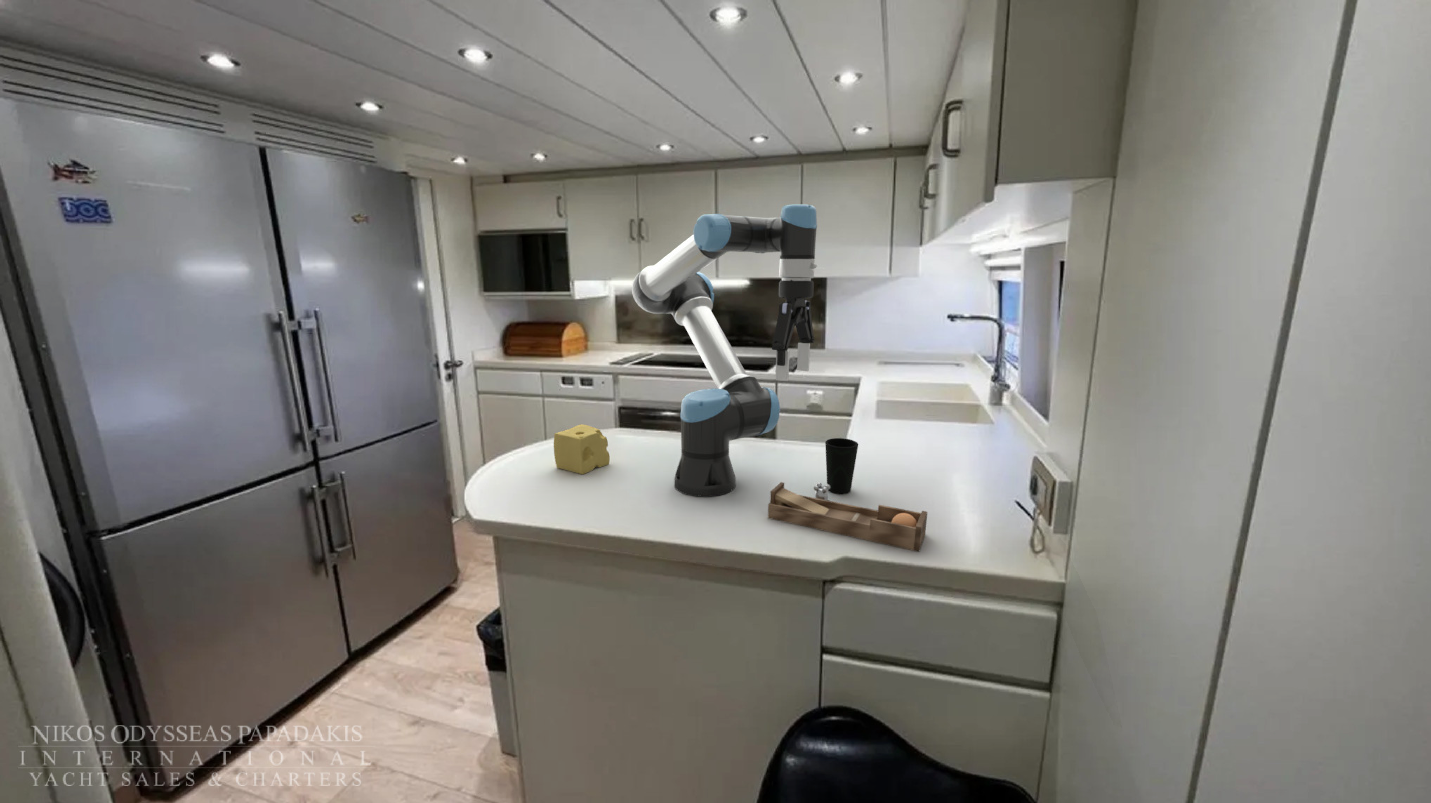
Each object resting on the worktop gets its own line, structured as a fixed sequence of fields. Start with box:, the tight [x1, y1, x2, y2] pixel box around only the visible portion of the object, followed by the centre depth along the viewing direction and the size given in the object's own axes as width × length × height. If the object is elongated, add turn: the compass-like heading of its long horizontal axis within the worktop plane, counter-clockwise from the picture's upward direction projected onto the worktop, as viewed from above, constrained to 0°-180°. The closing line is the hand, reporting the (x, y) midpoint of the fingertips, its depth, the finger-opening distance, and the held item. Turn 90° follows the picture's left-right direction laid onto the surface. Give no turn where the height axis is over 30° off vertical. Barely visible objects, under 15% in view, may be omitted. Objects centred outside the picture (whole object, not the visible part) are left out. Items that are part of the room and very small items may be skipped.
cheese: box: [553, 423, 610, 475], centre depth 151 cm, size 10×11×10 cm
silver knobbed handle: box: [813, 482, 830, 501], centre depth 127 cm, size 5×5×5 cm
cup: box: [824, 437, 859, 495], centre depth 135 cm, size 8×8×12 cm
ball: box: [892, 513, 917, 527], centre depth 111 cm, size 5×5×5 cm
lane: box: [767, 481, 928, 553], centre depth 116 cm, size 31×8×6 cm, turn 62°
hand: (792, 375), depth 128 cm, fingers open, 13 cm apart
